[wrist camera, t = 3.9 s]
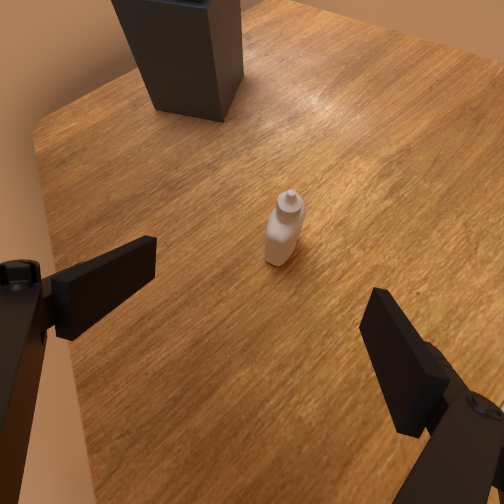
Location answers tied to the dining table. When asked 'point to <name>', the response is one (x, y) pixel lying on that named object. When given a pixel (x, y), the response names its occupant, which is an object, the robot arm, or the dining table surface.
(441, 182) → the dining table surface
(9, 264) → the robot arm
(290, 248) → the eye dropper bottle
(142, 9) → the pedestal
